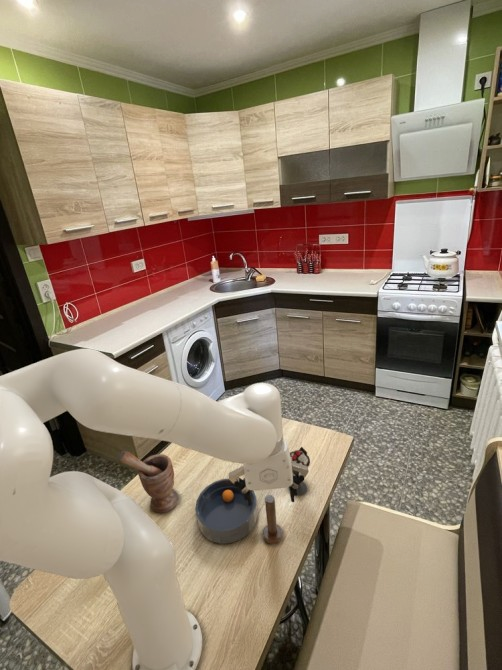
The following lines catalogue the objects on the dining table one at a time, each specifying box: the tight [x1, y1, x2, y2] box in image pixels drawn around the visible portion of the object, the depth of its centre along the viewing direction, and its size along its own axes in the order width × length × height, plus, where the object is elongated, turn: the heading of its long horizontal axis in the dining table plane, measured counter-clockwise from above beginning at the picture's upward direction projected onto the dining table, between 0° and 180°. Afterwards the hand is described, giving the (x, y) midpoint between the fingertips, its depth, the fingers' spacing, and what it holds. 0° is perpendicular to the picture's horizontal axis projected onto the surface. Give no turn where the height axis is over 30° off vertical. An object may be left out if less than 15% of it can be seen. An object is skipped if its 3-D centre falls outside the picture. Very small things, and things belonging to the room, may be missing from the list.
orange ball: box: [222, 490, 234, 502], centre depth 92 cm, size 3×3×3 cm
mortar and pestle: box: [117, 450, 179, 514], centre depth 89 cm, size 12×9×20 cm
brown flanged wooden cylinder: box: [263, 494, 283, 545], centre depth 80 cm, size 4×4×12 cm
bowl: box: [194, 478, 259, 544], centre depth 87 cm, size 15×15×5 cm
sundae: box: [288, 446, 311, 496], centre depth 91 cm, size 7×7×15 cm
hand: (270, 498), depth 78 cm, fingers open, 9 cm apart
